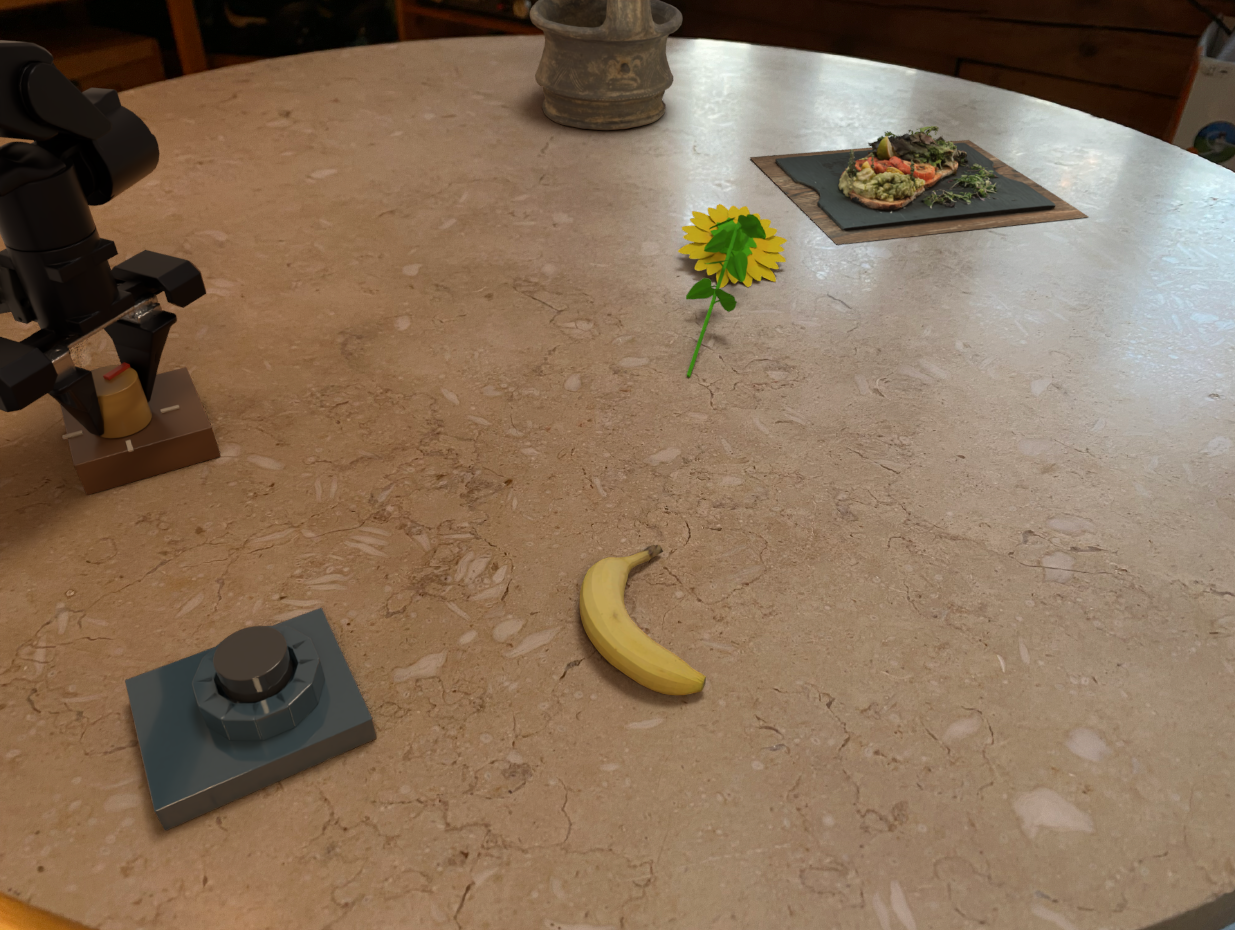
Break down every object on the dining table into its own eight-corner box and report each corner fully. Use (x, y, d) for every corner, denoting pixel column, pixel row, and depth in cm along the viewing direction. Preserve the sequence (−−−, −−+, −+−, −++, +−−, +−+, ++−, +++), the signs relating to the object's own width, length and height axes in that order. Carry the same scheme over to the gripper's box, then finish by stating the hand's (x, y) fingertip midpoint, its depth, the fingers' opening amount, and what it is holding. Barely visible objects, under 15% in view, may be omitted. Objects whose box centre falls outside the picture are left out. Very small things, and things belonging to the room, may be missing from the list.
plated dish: (839, 246, 109) (850, 185, 104) (745, 161, 130) (751, 107, 125) (1091, 219, 117) (1112, 162, 113) (964, 143, 138) (977, 92, 134)
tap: (122, 444, 72) (104, 398, 70) (79, 430, 74) (60, 384, 71) (164, 414, 76) (148, 369, 73) (122, 400, 77) (105, 356, 74)
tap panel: (83, 499, 72) (68, 467, 70) (67, 428, 79) (53, 397, 77) (221, 458, 76) (212, 427, 74) (195, 395, 83) (185, 364, 81)
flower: (737, 430, 91) (795, 225, 107) (761, 378, 84) (820, 166, 100) (619, 391, 92) (694, 192, 108) (633, 336, 84) (711, 131, 100)
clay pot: (528, 136, 135) (519, -107, 116) (537, 85, 153) (530, -132, 134) (681, 138, 135) (697, -103, 116) (672, 87, 153) (684, -128, 134)
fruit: (660, 549, 69) (662, 519, 67) (718, 695, 59) (722, 664, 57) (562, 565, 68) (561, 534, 66) (604, 716, 57) (605, 685, 56)
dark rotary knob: (230, 713, 53) (221, 690, 51) (214, 664, 55) (205, 641, 54) (301, 685, 54) (294, 662, 53) (282, 638, 57) (275, 616, 56)
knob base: (164, 831, 51) (142, 790, 48) (134, 700, 58) (113, 658, 55) (377, 738, 56) (367, 696, 53) (326, 627, 63) (316, 585, 60)
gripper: (71, 167, 74) (132, 338, 83) (-164, 267, 60) (-59, 458, 70) (183, 192, 70) (232, 367, 80) (-39, 304, 57) (53, 498, 67)
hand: (121, 417), depth 74 cm, fingers closed on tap, 4 cm apart
